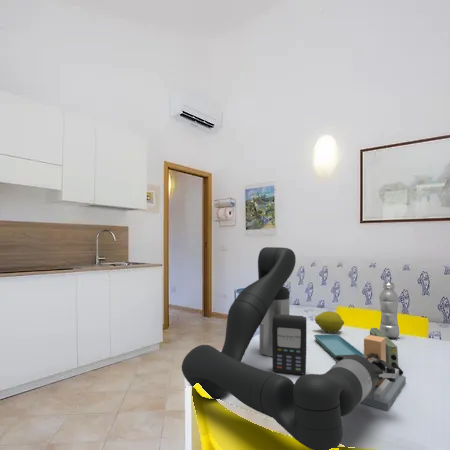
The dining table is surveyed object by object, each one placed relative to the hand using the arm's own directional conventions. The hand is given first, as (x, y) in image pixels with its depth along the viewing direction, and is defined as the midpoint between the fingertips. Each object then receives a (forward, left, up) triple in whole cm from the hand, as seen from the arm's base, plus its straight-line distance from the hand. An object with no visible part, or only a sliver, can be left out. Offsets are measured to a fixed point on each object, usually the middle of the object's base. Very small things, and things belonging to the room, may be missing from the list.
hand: (374, 358), depth 78 cm
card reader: (-20, +9, -8) cm, 23 cm away
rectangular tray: (-3, +28, -9) cm, 29 cm away
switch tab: (+1, +2, -6) cm, 7 cm away
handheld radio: (+10, +24, -9) cm, 27 cm away
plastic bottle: (+18, +49, -8) cm, 53 cm away
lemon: (-3, +52, -8) cm, 52 cm away
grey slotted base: (0, +2, -8) cm, 8 cm away
